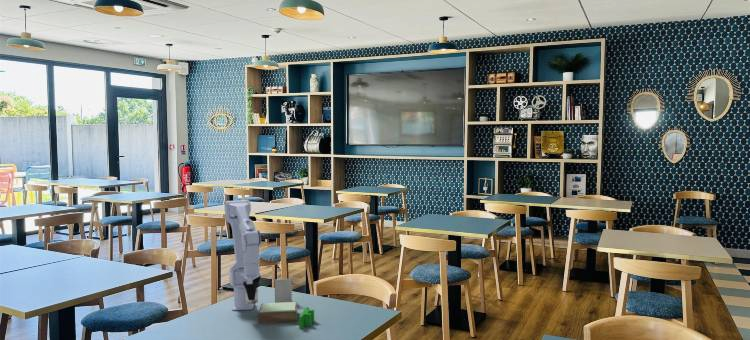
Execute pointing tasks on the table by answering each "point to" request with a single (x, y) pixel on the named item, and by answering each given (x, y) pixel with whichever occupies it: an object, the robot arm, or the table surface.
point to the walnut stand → (277, 312)
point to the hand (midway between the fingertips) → (252, 297)
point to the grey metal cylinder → (252, 300)
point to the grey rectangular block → (283, 290)
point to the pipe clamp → (306, 318)
